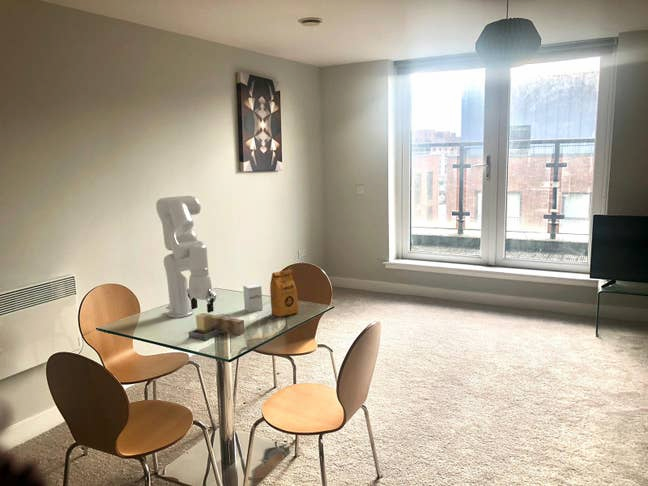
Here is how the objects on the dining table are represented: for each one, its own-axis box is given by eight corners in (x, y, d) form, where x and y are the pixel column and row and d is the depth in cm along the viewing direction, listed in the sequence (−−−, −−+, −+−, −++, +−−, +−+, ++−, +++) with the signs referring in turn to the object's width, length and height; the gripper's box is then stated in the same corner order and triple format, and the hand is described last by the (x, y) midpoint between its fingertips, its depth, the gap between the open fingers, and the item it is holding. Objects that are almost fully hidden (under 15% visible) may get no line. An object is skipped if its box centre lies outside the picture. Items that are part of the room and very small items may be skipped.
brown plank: (201, 327, 246) (200, 315, 245) (205, 325, 248) (204, 313, 247) (240, 335, 233) (239, 322, 232) (244, 333, 236) (243, 320, 235)
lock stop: (197, 335, 234) (195, 315, 232) (204, 332, 237) (203, 312, 236) (204, 336, 231) (203, 317, 230) (212, 333, 235) (210, 314, 234)
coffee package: (301, 314, 260) (298, 270, 256) (278, 319, 254) (275, 274, 250) (291, 309, 268) (289, 267, 265) (269, 314, 262) (266, 271, 258)
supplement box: (249, 312, 267) (247, 288, 265) (244, 309, 273) (242, 285, 271) (263, 310, 270) (261, 286, 268) (258, 306, 277) (256, 283, 274)
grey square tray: (188, 337, 233) (188, 332, 232) (205, 330, 241) (204, 325, 241) (205, 341, 227) (204, 335, 227) (221, 333, 236) (220, 328, 235)
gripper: (179, 272, 231) (182, 309, 235) (208, 276, 222) (210, 315, 225) (191, 268, 237) (194, 305, 241) (220, 272, 228) (222, 310, 232)
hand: (202, 310), depth 233 cm, fingers open, 9 cm apart
